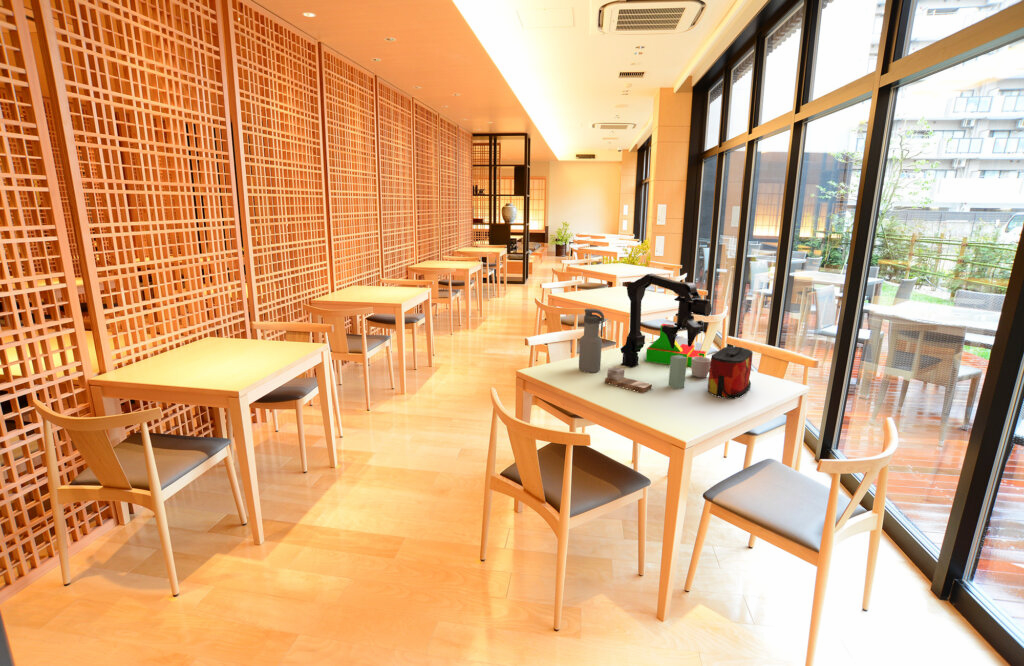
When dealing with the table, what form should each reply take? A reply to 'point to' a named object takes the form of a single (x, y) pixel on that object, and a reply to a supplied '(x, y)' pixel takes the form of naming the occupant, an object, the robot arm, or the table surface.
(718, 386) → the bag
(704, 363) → the cup
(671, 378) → the pillar
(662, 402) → the table surface
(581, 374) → the table surface
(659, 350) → the building blocks toy
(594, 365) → the water bottle
